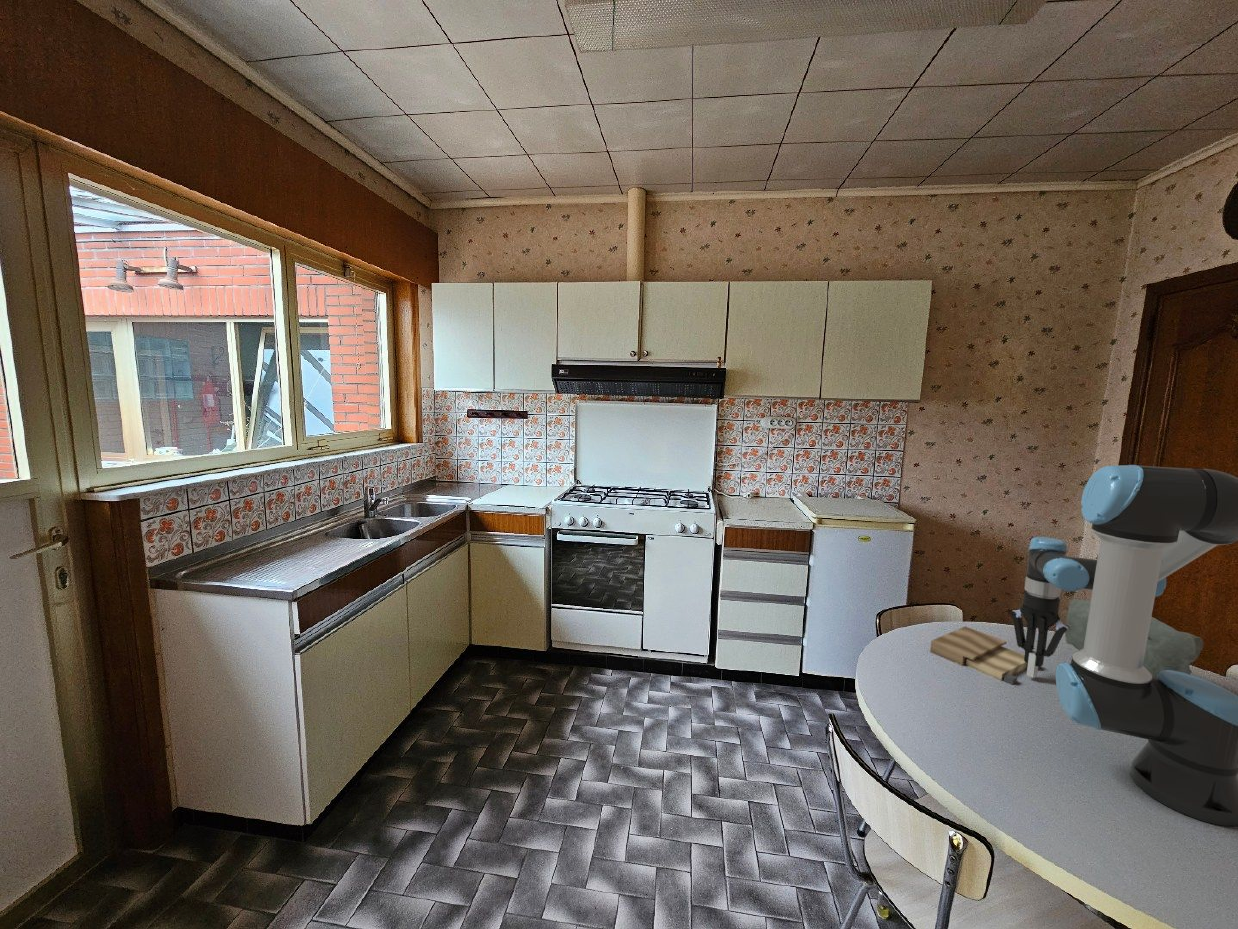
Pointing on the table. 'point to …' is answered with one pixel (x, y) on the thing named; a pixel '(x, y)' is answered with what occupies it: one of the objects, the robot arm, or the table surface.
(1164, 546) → the robot arm
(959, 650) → the board
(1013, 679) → the spacers
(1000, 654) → the plank
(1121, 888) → the table surface
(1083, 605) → the rock
